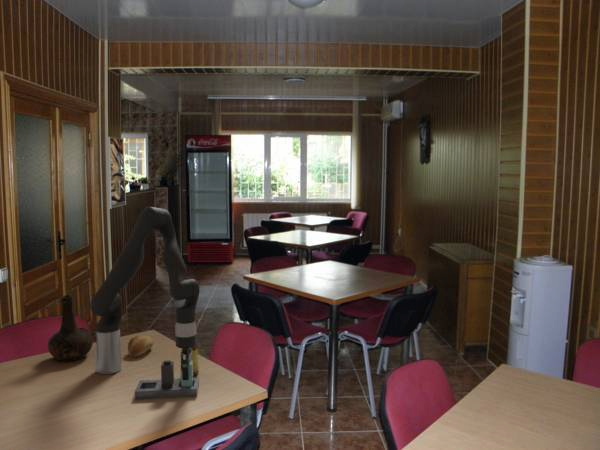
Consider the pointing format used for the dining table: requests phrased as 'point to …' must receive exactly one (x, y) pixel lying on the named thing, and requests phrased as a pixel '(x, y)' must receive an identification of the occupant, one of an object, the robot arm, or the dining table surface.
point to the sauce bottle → (195, 360)
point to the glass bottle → (69, 335)
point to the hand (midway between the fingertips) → (186, 375)
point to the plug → (190, 381)
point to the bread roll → (139, 345)
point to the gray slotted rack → (165, 385)
